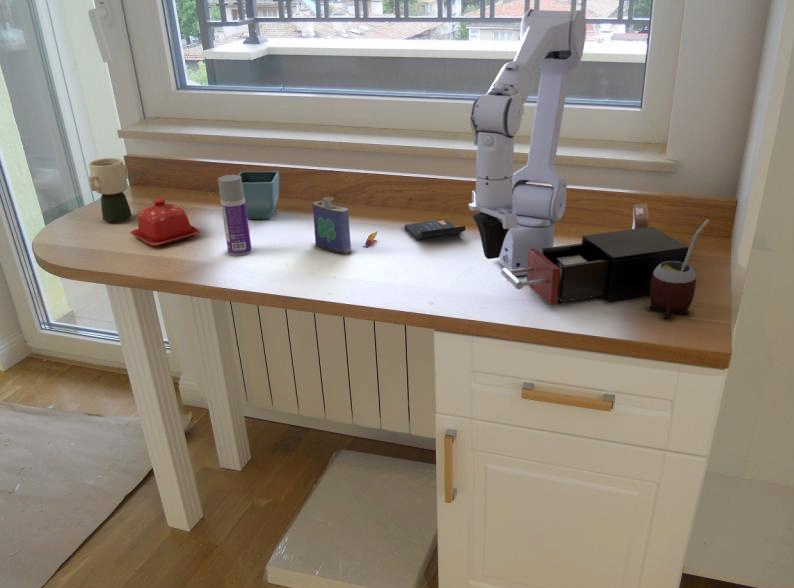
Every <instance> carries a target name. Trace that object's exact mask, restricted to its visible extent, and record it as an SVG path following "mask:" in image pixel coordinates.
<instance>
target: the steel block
mask: <svg viewBox="0 0 794 588" xmlns="http://www.w3.org/2000/svg"><path fill="white" fill-rule="evenodd" d="M582 262H588V261H587V260H585V259H584V258H583V257H581V256H580V255H574V256H566V257H559V258H556V266H557V267H558V268H560V270H559V284H558V285H559V286H561V279H562V266H563V265H568V264H575V263H582Z"/></svg>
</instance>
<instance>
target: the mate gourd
mask: <svg viewBox="0 0 794 588" xmlns="http://www.w3.org/2000/svg"><path fill="white" fill-rule="evenodd" d="M710 221H711V219H709V218H707V219H705V221H704V222H703V223H702V224H701V225H700V226H699V227H698V229H697V230H696V232H695V234H693V236H692V238H691V243H690V246H689V247H688V253H687V256H686V258H685V261H684V263H683V262H678V261H667V262H663V263H661V264H659V265H658V266H657V267H656V269H655V270H654V273H653V275H652V278H651V283H650V296H649V299H650V306H649V311H652V312H660V313H664V320H670V319H671V315H672V314H673V315H674V314H675V315H683V316H688V315H689V313H690V310H689V308H690V306H691V304H692V302H693V300H694V296H695V290H696V286H697V285H696V284H697V275H696V272H695V270H694V268H693V267H692V266H691V265H690V264H688V263H689V260H690V258H691V255H692V252H693V249H694V247H695V244H696V243H697V242H698V239H699V237H700V236H699V235H700V234H701V232H702V231H703V230H704V228H705V227H706V226H707V225H708V224H709V222H710Z"/></svg>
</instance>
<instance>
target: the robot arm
mask: <svg viewBox="0 0 794 588" xmlns="http://www.w3.org/2000/svg"><path fill="white" fill-rule="evenodd" d="M519 33H520V34H519V37H520V45H519V48H518V50H517V52H516V54H515V57H514V59H513V61H509V62H507V63H505V64H504V65H503V66H502V67H501V69H500V71H498V74H497V76H496V77H495V79H494V81H493V82H492V84H491V86H490V88H489V89H488V91H487V93H483V94H481V95H479V97H476V98H475V99H474V100H473V103H472V106H471V110H470V111H471V112H470V116H469V121H470V128H471V131H472V138H473V139H472V142H473V145H474V146H476V161H475V162H476V163H475V190H472V191H471V202H469V203H468V208H469V210H470V211H472V212H475V213H473V214H472V219H473V221H474V222H475V224H476V227H477V229H478V232H479V237H480V240H481V245H482V250H483V255H484V257H485V258H486V259H487V260H492V259H498V261H497V262H498V263H499V264H500V265H501V266H502V267H503V268H508V269H509V270H512V269H519V268H526V267H528V249H531V248H535V249H536V250H538V251H539V252H540V253H542V249H543V248H550V247H554V237H555V223H558V222H559V221H560V220H561V219H562V217H563V216H564V214H565V210H566V207H567V188H568V183H567V180H566V178H565V177H564V176H563V175H562V174H561V173H560V172H559V171H558V169H557V168H556V167H555V165H556V164H555V163H556V158H557V152H558V145H559V139H560V133H561V127H562V122H563V121H562V120H563V114H564V109H565V103H566V97H567V92H568V91H567V90H568V85H569V80H570V76H571V71H572V70H574V69H575V68H577V67H579V66H580V65H581V62H582V58H583V54H584V49H585V42H586V36H587V21H586V16H585V14H584V13H583V11H582V10H580V9H576V10H545V9H542V10H541V9H533V8H529V9H527V10H526V12H525V13H524V14H523V16H522V19H521V22H520V28H519ZM538 68H539V70H540V79H539V86H538V94H537V98H536V99H537V100H536V105H535V112H534V117H533V118H534V119H533V124H532V131H531V137H530V143H529V149H528V157H527V163H526V165H525V166H523V167H522V168H520V169H519V170H517V171H515V172H514V156H515V155H514V154H515V153H514V152H515V136H516V135H517V133H518V132H519V130H520V128H521V124H522V117H523V115H524V112H525V107H524V104H525V103H526V101H527V99H528V98H529V96H530V94H531V92H532V91H533V88H534V87H535V84H536V76H535V72H536V71H537V69H538ZM528 182H535V183H528ZM536 182H537V183H544V184H550V185H543V184H536ZM476 211H477V212H476ZM514 275H515V276H516V277H522V276H527V272H522V273H515V274H514Z"/></svg>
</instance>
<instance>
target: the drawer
mask: <svg viewBox="0 0 794 588" xmlns="http://www.w3.org/2000/svg"><path fill="white" fill-rule="evenodd" d="M574 255H580V256H581V257H583V258H584V259H585V260H587V261H588V262H582V263H575V264H568V265H563V266H562V279H561V286H559V285H558V284H559V270H560V268H558V267H557V266H556V258H559V257H566V256H574ZM611 262H612V260H611V259H610V258H608V257H607V256H606V255H604V254H603V253H601V252H600V251H599V250H597V249H596V248H594V247H593V246H592V245H590V244H589V243H582V242H581V243H574V244H567V245H566V244H565V245H558V246H553V247H550V248H543V249H542V253H540V252H539V251H538V250H536V249H535V248H531V249H528V267H526V268H519V269H512V270H509V269H508V268H504V267H503V268H502V269H501V271H500V274H501V275H502V277H504V278H505V279H506V280H507V281H508V282H509V283H511V285H512V286H513V287H514V288H515V289H517V290H521V289H523V288H524V287H530V288H531V289H532V290H533V291H534V292H535V293H536V294H537V295H538V296H539V297H541V299H543V301H545V303H547V304H548V305H549V306H550V307H552V306H557V305H558V300H559V301H561V302H568V301H574V300H582V299H588V298H595V297H601V296H602V295H608V290H609V281H610V271H611ZM522 272H527V275H526V280H525V281H522V280H521V279H520V278H518V276H515V275H514V274H515V273H522Z"/></svg>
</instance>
